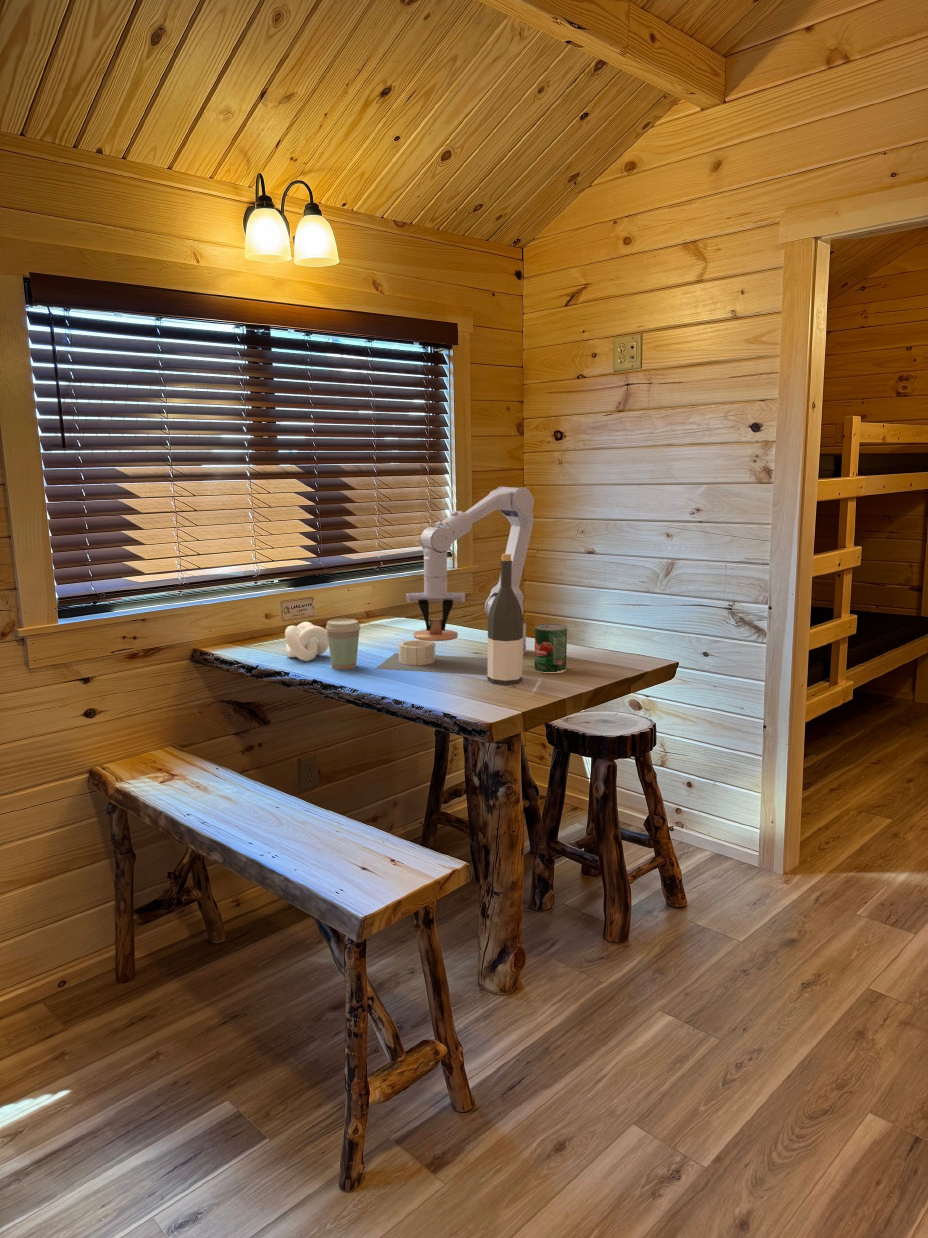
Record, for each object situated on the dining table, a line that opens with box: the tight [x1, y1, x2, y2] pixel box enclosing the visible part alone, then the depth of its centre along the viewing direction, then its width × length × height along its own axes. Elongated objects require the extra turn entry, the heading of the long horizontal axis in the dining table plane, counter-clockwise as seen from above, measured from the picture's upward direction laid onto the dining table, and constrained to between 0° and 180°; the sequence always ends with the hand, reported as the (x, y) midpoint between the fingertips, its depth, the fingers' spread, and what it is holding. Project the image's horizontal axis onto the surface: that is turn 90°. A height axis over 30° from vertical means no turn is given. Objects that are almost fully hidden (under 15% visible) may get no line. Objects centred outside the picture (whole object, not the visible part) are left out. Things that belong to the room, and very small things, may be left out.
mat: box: [375, 652, 488, 676], centre depth 211 cm, size 28×17×1 cm, turn 78°
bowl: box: [398, 639, 436, 665], centre depth 214 cm, size 9×9×4 cm
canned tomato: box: [534, 622, 568, 673], centre depth 206 cm, size 8×8×11 cm
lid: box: [413, 618, 459, 642], centre depth 210 cm, size 11×11×4 cm
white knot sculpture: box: [284, 621, 329, 662], centre depth 218 cm, size 11×12×9 cm
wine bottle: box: [487, 553, 524, 686], centre depth 193 cm, size 8×8×30 cm
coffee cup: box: [324, 618, 361, 671], centre depth 207 cm, size 8×9×12 cm
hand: (435, 629), depth 210 cm, fingers closed on lid, 3 cm apart
